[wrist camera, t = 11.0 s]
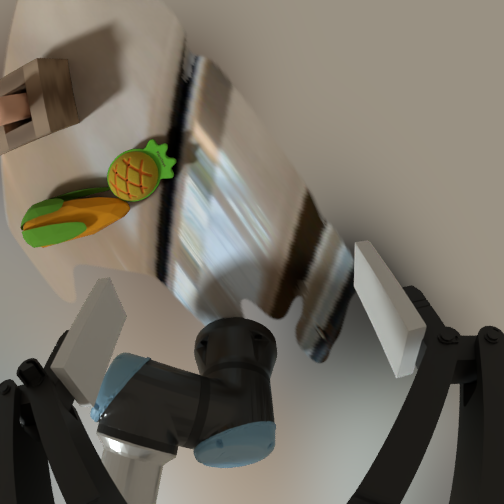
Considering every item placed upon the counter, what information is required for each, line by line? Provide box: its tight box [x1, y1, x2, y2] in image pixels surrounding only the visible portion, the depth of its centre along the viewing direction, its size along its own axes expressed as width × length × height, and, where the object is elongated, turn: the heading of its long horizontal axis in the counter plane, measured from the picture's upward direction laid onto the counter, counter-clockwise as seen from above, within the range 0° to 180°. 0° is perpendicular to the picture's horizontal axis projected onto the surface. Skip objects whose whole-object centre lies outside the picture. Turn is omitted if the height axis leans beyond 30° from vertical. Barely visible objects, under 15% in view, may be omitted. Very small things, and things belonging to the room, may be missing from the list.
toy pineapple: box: [107, 139, 176, 202], centre depth 39 cm, size 7×10×5 cm
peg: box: [0, 93, 32, 126], centre depth 30 cm, size 4×4×12 cm
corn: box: [21, 187, 130, 248], centre depth 41 cm, size 7×8×20 cm
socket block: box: [0, 58, 79, 155], centre depth 32 cm, size 10×10×8 cm
